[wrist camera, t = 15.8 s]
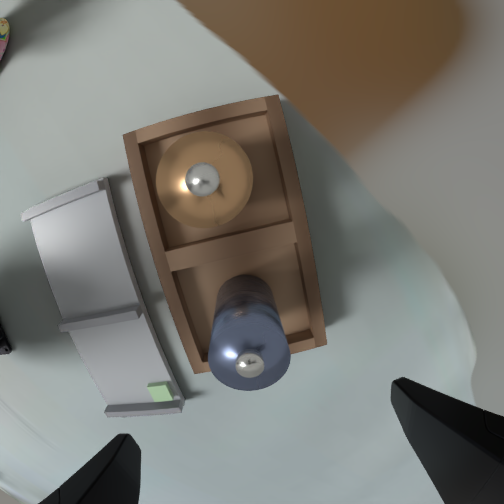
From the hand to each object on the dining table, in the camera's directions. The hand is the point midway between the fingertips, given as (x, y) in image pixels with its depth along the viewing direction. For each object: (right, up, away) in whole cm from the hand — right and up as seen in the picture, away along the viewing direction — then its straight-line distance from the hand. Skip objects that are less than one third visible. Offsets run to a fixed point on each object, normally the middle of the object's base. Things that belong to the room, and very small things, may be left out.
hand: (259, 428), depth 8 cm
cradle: (-11, +1, +11) cm, 16 cm away
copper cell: (-2, +10, +9) cm, 13 cm away
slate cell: (-1, +2, +10) cm, 11 cm away
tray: (-2, +6, +11) cm, 13 cm away
